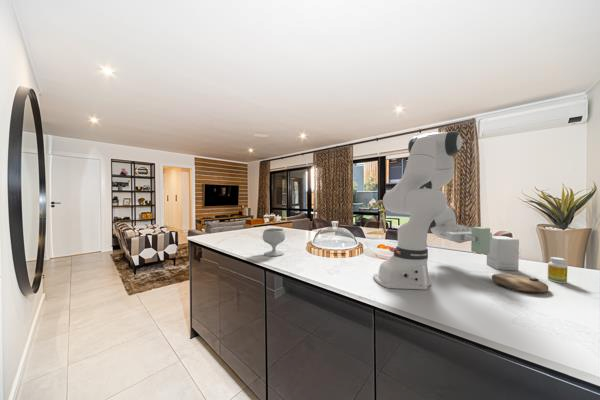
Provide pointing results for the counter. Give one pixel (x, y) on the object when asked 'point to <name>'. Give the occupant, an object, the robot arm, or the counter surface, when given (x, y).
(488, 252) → the spindle block
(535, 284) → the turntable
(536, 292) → the base
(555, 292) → the counter surface
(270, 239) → the chalice
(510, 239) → the supplement box
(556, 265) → the supplement bottle
